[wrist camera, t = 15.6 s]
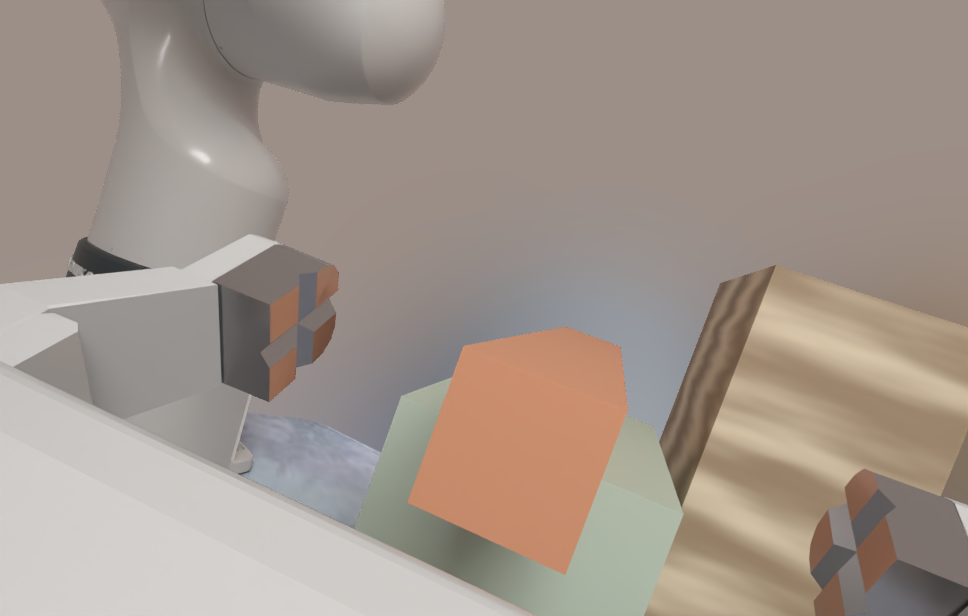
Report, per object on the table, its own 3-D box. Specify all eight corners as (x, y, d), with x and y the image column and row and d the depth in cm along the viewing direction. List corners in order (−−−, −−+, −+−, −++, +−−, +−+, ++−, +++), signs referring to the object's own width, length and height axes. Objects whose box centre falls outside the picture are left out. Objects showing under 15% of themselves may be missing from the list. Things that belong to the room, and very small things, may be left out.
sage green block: (510, 958, 20) (683, 514, 19) (255, 805, 22) (401, 395, 21) (556, 679, 36) (653, 426, 35) (404, 604, 38) (492, 362, 37)
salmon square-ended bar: (565, 574, 12) (627, 410, 12) (406, 502, 13) (463, 345, 13) (600, 400, 38) (620, 346, 37) (546, 379, 38) (566, 326, 38)
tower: (788, 861, 29) (1005, 339, 27) (585, 756, 31) (776, 265, 29) (727, 669, 44) (863, 331, 43) (595, 607, 46) (720, 283, 45)
